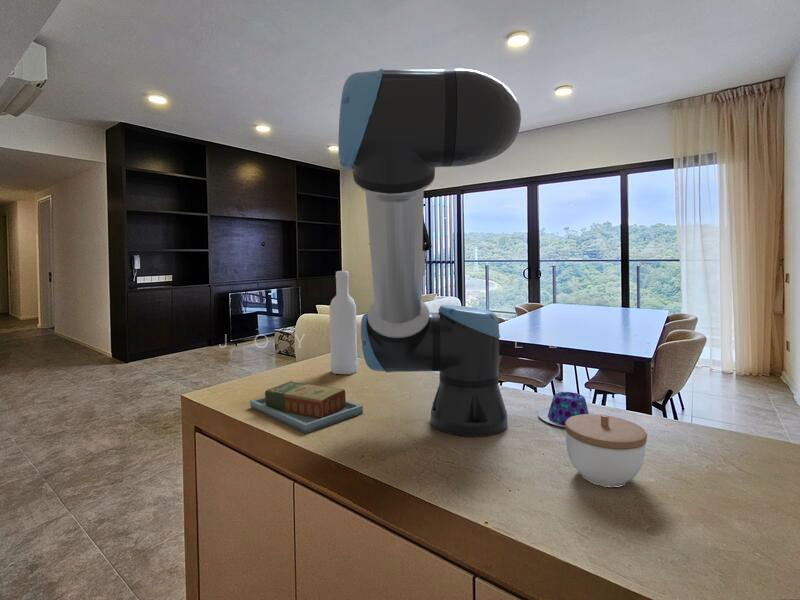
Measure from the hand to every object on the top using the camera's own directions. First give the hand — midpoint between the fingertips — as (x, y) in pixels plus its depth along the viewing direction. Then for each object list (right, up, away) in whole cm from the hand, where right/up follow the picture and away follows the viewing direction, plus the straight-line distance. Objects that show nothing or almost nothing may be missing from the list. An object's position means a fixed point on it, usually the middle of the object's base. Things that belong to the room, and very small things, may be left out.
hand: (402, 276), depth 104 cm
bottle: (-17, -28, +20) cm, 38 cm away
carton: (-21, -30, -13) cm, 39 cm away
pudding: (+34, -31, -19) cm, 49 cm away
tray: (-21, -30, -13) cm, 39 cm away
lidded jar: (+29, -32, -42) cm, 61 cm away
